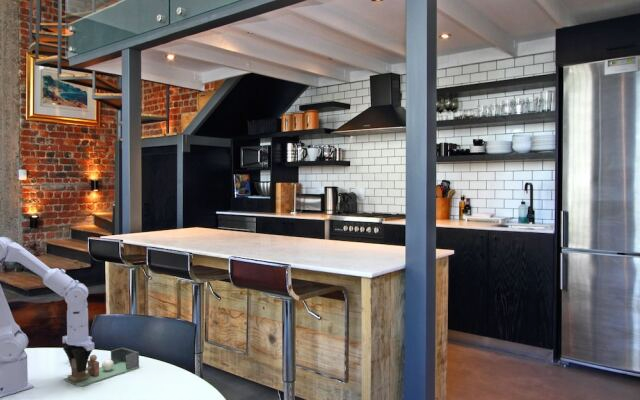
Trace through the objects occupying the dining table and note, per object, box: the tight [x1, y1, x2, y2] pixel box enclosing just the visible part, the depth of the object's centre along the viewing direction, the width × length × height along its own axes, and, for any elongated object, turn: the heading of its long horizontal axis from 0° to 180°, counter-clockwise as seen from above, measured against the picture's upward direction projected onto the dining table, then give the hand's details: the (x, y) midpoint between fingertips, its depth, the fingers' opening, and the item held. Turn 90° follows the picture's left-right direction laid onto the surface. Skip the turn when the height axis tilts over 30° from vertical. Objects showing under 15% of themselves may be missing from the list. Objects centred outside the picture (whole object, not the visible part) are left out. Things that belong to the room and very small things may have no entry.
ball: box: [101, 358, 114, 371], centre depth 161 cm, size 4×4×4 cm
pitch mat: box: [63, 362, 139, 388], centre depth 159 cm, size 19×10×1 cm, turn 144°
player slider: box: [67, 354, 100, 382], centre depth 154 cm, size 8×4×6 cm, turn 144°
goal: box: [110, 347, 140, 370], centre depth 165 cm, size 4×9×5 cm, turn 54°
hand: (78, 370), depth 153 cm, fingers closed on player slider, 3 cm apart
